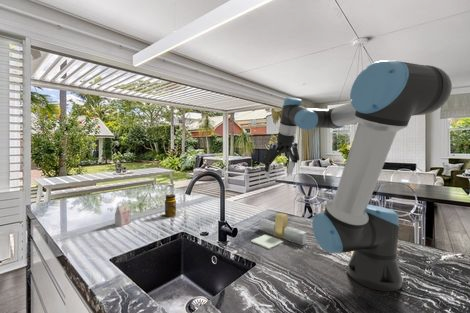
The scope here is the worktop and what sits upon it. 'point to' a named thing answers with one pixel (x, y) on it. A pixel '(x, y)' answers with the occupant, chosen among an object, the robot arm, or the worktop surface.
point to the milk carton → (122, 215)
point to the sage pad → (267, 241)
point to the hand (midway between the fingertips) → (278, 175)
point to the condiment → (170, 207)
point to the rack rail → (289, 232)
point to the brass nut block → (280, 224)
